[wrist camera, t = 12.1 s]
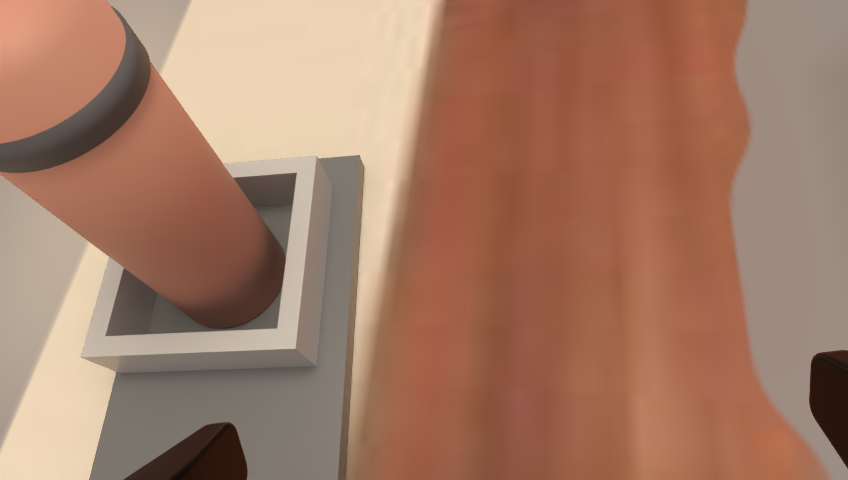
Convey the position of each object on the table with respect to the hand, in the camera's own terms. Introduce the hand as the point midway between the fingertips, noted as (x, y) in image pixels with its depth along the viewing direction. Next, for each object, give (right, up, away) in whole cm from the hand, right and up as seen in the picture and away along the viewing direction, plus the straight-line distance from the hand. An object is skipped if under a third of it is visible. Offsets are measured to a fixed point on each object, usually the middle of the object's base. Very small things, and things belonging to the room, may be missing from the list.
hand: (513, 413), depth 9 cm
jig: (-9, -2, +16) cm, 19 cm away
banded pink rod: (-10, +1, +16) cm, 19 cm away
